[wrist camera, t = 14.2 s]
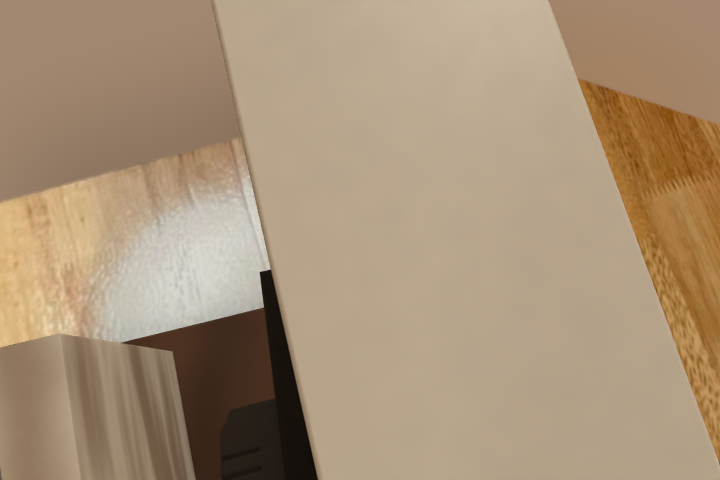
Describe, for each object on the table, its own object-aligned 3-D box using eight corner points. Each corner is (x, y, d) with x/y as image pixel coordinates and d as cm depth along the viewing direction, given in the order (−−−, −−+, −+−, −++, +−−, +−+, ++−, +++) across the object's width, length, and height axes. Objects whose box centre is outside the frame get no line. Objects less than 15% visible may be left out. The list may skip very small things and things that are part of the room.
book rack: (338, 291, 45) (345, 230, 26) (385, 478, 42) (430, 560, 23) (75, 356, 43) (-123, 340, 24) (104, 557, 40) (-96, 718, 21)
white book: (354, 192, 24) (427, -336, 6) (427, 468, 21) (878, 883, 4) (282, 208, 23) (143, -299, 6) (348, 491, 21) (447, 1057, 4)
